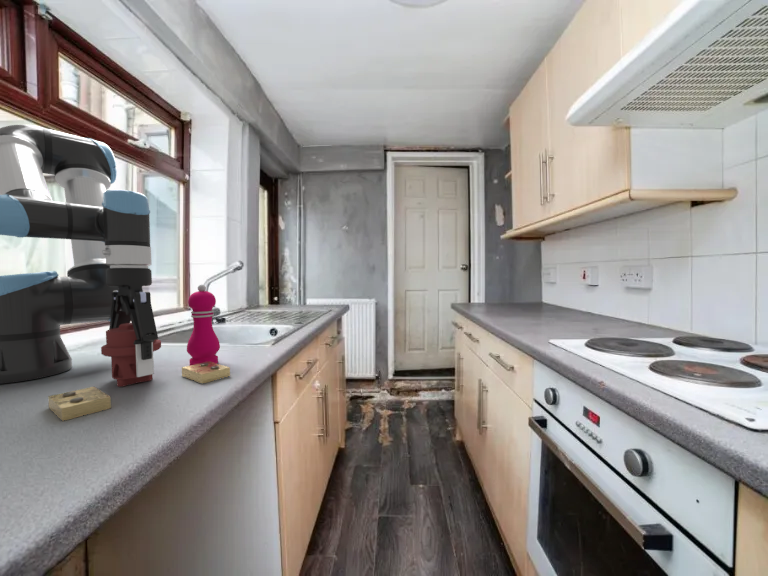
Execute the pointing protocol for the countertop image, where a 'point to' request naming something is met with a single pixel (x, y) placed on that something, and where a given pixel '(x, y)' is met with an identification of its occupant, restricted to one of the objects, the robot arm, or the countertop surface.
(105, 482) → the countertop surface
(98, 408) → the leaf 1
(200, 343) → the pepper mill
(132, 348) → the mechanical component
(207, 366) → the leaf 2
